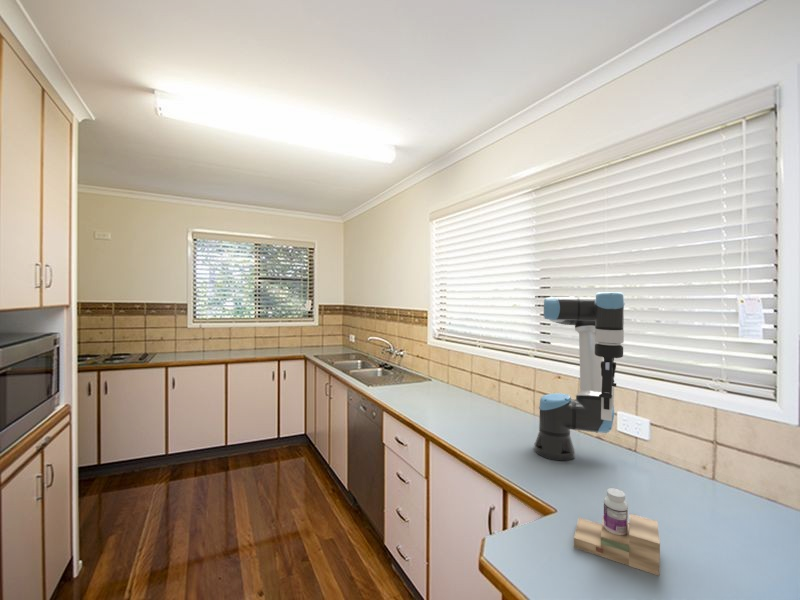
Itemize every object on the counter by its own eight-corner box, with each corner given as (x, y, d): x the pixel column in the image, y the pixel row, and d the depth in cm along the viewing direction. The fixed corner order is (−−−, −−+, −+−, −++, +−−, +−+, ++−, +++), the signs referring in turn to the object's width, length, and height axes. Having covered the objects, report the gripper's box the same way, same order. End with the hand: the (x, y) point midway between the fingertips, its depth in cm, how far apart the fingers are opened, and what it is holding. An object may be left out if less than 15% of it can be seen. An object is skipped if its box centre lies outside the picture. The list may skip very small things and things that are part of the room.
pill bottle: (605, 520, 99) (606, 484, 99) (629, 528, 95) (629, 491, 95) (601, 530, 95) (602, 492, 94) (625, 539, 91) (626, 500, 91)
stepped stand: (578, 526, 104) (578, 499, 104) (656, 550, 95) (657, 521, 94) (573, 548, 95) (574, 519, 95) (659, 576, 86) (660, 544, 86)
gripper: (597, 337, 125) (596, 400, 125) (591, 347, 104) (590, 423, 104) (623, 339, 121) (622, 404, 122) (622, 350, 100) (621, 428, 100)
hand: (607, 413), depth 113 cm, fingers open, 13 cm apart
